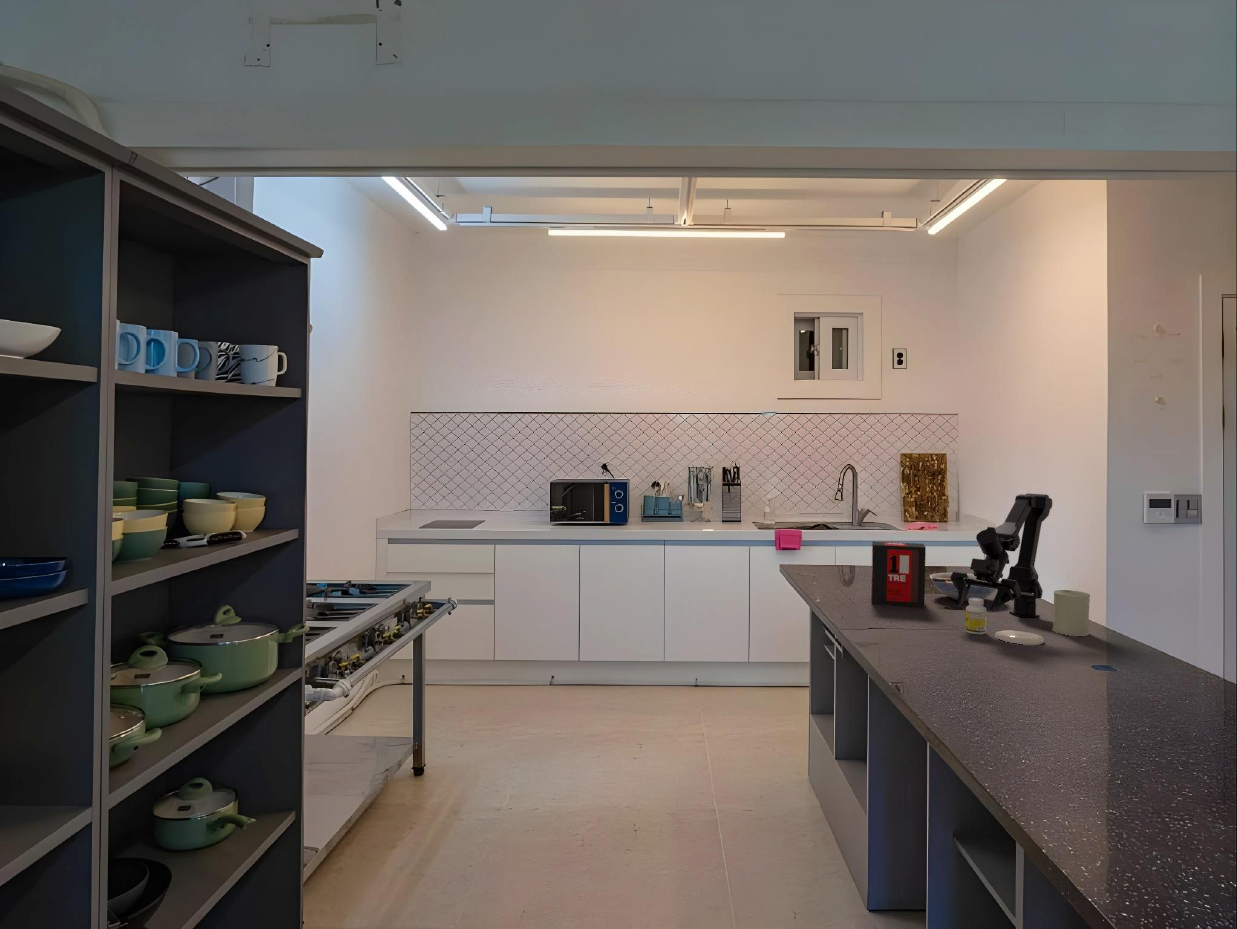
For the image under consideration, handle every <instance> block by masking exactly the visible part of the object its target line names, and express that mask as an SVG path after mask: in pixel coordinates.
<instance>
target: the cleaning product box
mask: <svg viewBox="0 0 1237 929" xmlns="http://www.w3.org/2000/svg"><path fill="white" fill-rule="evenodd" d="M871 547H872V548H871V596H870V597H871V598H870V601H871V605H883V606H893V607H894V606H897V607H910V608H911V607H912V608H914V607H915V608H925V595H926V594H925V593H926V591H925V590H926V589H925V588H926V554H927V553H926V551H927V550H926V548H927V547H926V546H925V543H915V542H892V541H891V542H890V541H872V544H871Z"/></svg>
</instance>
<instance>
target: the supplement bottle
mask: <svg viewBox="0 0 1237 929" xmlns="http://www.w3.org/2000/svg"><path fill="white" fill-rule="evenodd" d="M984 601H985V598H982V599H981V598H969V602H968V605H967V606H966V607H965V632H966V633H967V634H970V635H971V634H973V635H985V634H986V633H987V608H986V607H985V606H984V603H985V602H984Z"/></svg>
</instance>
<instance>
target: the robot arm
mask: <svg viewBox="0 0 1237 929" xmlns="http://www.w3.org/2000/svg"><path fill="white" fill-rule="evenodd" d="M1014 501H1015V502H1014V504H1013V505H1012V507H1011V509H1010V511H1009V512H1008V514H1007V517H1006V518H1005V520H1004V522H1003V523H1002V524H1000V525H998V526H996V527H994V526H993V527H992V526H987V527H986V529H983V530H980V532H978V533H977V534H976V537H975V539H976V541H977V544H978V546H979V548H980V550H981V552H982V554H984V556H985V557H984V559H982V558H975V557H973V558H971V563H970V567H969V569H970V571H971V570H972V571H973V573H972V574H974V576H976V577H977V578H976V579H973V578H969V577H968V575H967V574H968V573H967V572H962V571H952V572H951V573H952V574H951V577H950V579H951V580H952V582H953V584H954V586H955V588H956V589H958V600H957V602H958V606H960V607H961V606H962V605H963V604H964V603H965V601H964V600H965V599H966V597H967V595H968V593H969V591H968V590H969V589H970V587H971V585H972V586H979V587H983V588H988V589H995V590H996V594H995V597H994V599H993V600H992V603H991V605H990V607H989V610H990V612H992V613H993V612H994V611H995V610H997V609H999V608H1000V607H1001V606H1003V605H1005V604H1006V603H1008V602H1010V601H1013V611H1012V610H1011V611H1010V610H1009V612H1008V614H1011V615H1014V616H1016V617H1020V618H1040V617H1041V615H1039V614H1037V602H1036V601H1037V599H1038V600H1039V599H1042V597H1043V588H1042V586H1041V583H1040V581H1039V574H1038V572H1037V570H1036V567H1035V564H1036V557H1037V551H1038V548H1039V546H1038V545H1039V540H1040V535H1041V534H1040V533H1041V528H1042V523H1043V522H1044V521H1045V520H1046V519H1047V518H1048V516H1049V515H1050V511H1051V509H1052V507H1053V499H1052V498H1051V497H1050V496H1049V495H1048V494H1046V493H1045V494H1043V493H1030V492H1029V493H1028V492H1027V493H1026V494H1022V493H1021V494H1016V496H1015V499H1014ZM1022 528H1023V529H1022ZM1021 529H1022V534H1021V537H1020V536H1019V534H1020V532H1021ZM1018 548H1019V553H1018V559H1017V562H1016V564H1015V565H1014V566H1013V565H1011V566H1010V567H1009V570H1008V571H1009V572H1008V573H1009V574H1008V577H1007V578H1003V577H1004V574H1003V571H1004V570H1005V567H1006V566H1007V565H1009V564H1010V558H1009V557H1010V556H1009V554H1008V552H1015V551H1017V549H1018ZM1000 579H1001V580H1000ZM999 580H1000V581H1001V583H998V581H999Z"/></svg>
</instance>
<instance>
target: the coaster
mask: <svg viewBox="0 0 1237 929" xmlns="http://www.w3.org/2000/svg"><path fill="white" fill-rule="evenodd" d="M994 636H995V639H996V638H997V639H996V640H998V639H1000V640H1003V641H1005V642H1004V643H1007V642H1010V643H1009V644H1012V643H1017V644H1016V645H1018V644H1023V645H1022V646H1040V644H1041V645H1043V644H1044V643H1043V642H1044V641H1045V639H1044V637H1043V636H1041V635H1040V634H1036V633H1033V632H1028V631H1023V630H1022V631H1021V630H1000V631H996V632H995V635H994ZM1000 640H999V641H1000ZM1003 641H1002V642H1003ZM1042 643H1043V644H1042Z"/></svg>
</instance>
